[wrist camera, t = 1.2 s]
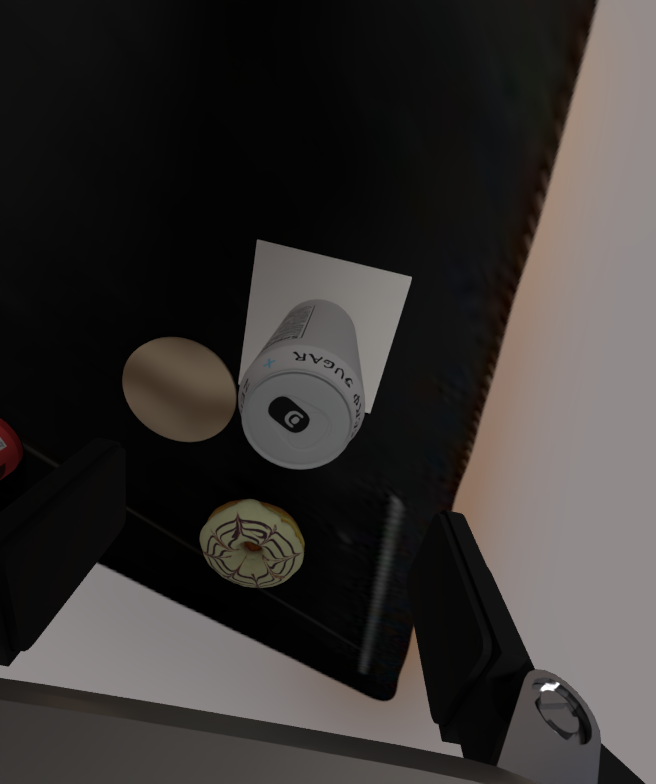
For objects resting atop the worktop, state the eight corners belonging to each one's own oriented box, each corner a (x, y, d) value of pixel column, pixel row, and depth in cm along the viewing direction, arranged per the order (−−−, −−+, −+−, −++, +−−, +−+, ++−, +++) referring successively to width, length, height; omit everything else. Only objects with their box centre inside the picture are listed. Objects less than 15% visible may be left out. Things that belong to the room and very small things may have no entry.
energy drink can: (320, 382, 30) (302, 501, 17) (267, 335, 29) (199, 423, 15) (371, 334, 28) (397, 423, 15) (316, 280, 27) (290, 324, 13)
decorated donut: (244, 473, 35) (234, 498, 32) (325, 527, 38) (323, 556, 34) (191, 531, 39) (176, 559, 35) (268, 577, 41) (261, 608, 38)
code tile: (258, 239, 26) (257, 239, 26) (411, 276, 27) (412, 277, 27) (239, 383, 31) (238, 384, 31) (369, 411, 32) (370, 413, 31)
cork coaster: (125, 324, 29) (121, 326, 29) (243, 351, 30) (241, 353, 29) (126, 426, 33) (123, 429, 33) (230, 448, 34) (228, 451, 33)
